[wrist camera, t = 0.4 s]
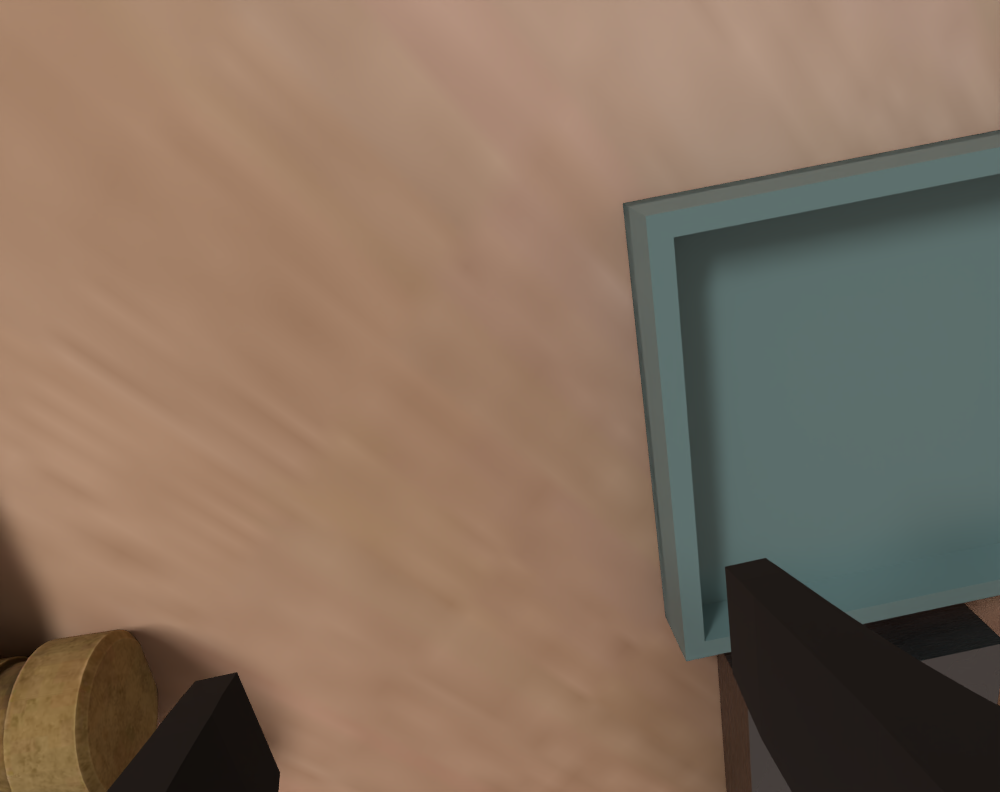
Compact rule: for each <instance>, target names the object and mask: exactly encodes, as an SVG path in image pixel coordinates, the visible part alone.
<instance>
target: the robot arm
mask: <svg viewBox="0 0 1000 792" xmlns="http://www.w3.org/2000/svg"><path fill="white" fill-rule="evenodd" d="M725 576H726V589H727V603H728V616H729V630H730V643H731V657H732V670H733V675H734V677H735V680H736V682H737V684H738V687H739V689H740V691H741V694H742V696H743V698H744V701H745V703H746V705H747V708H748V710H749V712H750V714H751V717H752V719H753V721H754V723H755V726H756V728H757V730H758V732H759V734H760V737H761V739H762V741H763V743H764V744H765V746H766V748H767V750H768V751H769V753H770V755H771V757H772V758H773V760H774V762H775V764H776V765H777V767H778V769H779V771H780V772H781V774H782V776H783V778H784V779H785V781H786V783H787V785H788V786H789V788H790V790H791V792H1000V706H999V705H997V704H995V703H993V702H991V701H989V700H988V699H986V698H984V697H982V696H980V695H978V694H977V693H975V692H973V691H971V690H969V689H968V688H966V687H964V686H963V685H961V684H959V683H957V682H956V681H954V680H952V679H950V678H949V677H947V676H945V675H943V674H942V673H940V672H938V671H937V670H935V669H933V668H931V667H930V666H928V665H926V664H924V663H923V662H921V661H920V660H918V659H916V658H915V657H913V656H911V655H910V654H908V653H906V652H905V651H903V650H902V649H900V648H899V647H897V646H896V645H894V644H892V643H891V642H889V641H888V640H886V639H885V638H883V637H881V636H880V635H878V634H877V633H875V632H874V631H872V630H871V629H869V628H867V627H866V626H864V625H863V624H861V623H860V622H858V621H857V620H855V619H854V618H852V617H851V616H849V615H848V614H846V613H845V612H843V611H842V610H841V609H839V608H838V607H836V606H835V605H833V604H832V603H830V602H829V601H827V600H826V599H824V598H823V597H822V596H820V595H819V594H817V593H816V592H814V591H813V590H811V589H810V588H809V587H807V586H806V585H804V584H803V583H801V582H800V581H799V580H797V579H796V578H794V577H793V576H791V575H790V574H788V573H787V572H786V571H784V570H783V569H781V568H780V567H778V566H777V565H775V564H774V563H772V562H771V561H770V560H768V559H767V558H763V559H758V560H753V561H749V562H744V563H740V564H735V565H730V566H726V567H725ZM279 778H280V772H279V769H278V767H277V765H276V762H275V760H274V758H273V755H272V753H271V751H270V748H269V746H268V744H267V741H266V739H265V737H264V734H263V732H262V730H261V727H260V725H259V723H258V720H257V718H256V716H255V713H254V711H253V709H252V706H251V704H250V702H249V699H248V697H247V695H246V692H245V690H244V688H243V685H242V683H241V681H240V678H239V676H238V673H237V672H236V673H232V674H227V675H222V676H218V677H213V678H209V679H204V680H199V681H195V682H194V684H193V685H192V686H191V687H190V688H189V689H188V691H187V692H186V693H185V694H184V695H183V697H182V698H181V699H180V700H179V701H178V703H177V704H176V705H175V706H174V708H173V709H172V710H171V711H170V713H169V714H168V715H167V716H166V718H165V719H164V720H163V721H162V723H161V724H160V725H159V727H158V728H157V729H156V730H155V732H154V733H153V734H152V735H151V737H150V738H149V739H148V740H147V742H146V743H145V744H144V746H143V747H142V748H141V749H140V751H139V752H138V753H137V754H136V756H135V757H134V758H133V759H132V761H131V762H130V763H129V764H128V766H127V767H126V768H125V769H124V771H123V772H122V773H121V774H120V776H119V777H118V778H117V779H116V780H115V782H114V783H113V784H112V785H111V787H110V788H109V789H108V790H107V792H278V790H279Z"/></svg>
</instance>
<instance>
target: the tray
mask: <svg viewBox="0 0 1000 792" xmlns="http://www.w3.org/2000/svg"><path fill="white" fill-rule="evenodd" d="M623 209H624V219H625V229H626V238H627V248H628V258H629V268H630V277H631V287H632V297H633V306H634V316H635V326H636V335H637V345H638V355H639V365H640V374H641V384H642V394H643V403H644V413H645V423H646V432H647V442H648V452H649V462H650V471H651V481H652V491H653V500H654V510H655V520H656V529H657V539H658V549H659V558H660V568H661V578H662V588H663V597H664V607H665V617H666V619H667V621H668V623H669V625H670V627H671V629H672V632H673V634H674V636H675V638H676V640H677V642H678V645H679V647H680V649H681V651H682V653H683V655H684V657H685V660H686V661H690V660H694V659H699V658H704V657H709V656H713V655H718V654H723V653H728V652H731V643H730V630H729V616H728V603H727V589H726V576H725V567H726V566H730V565H735V564H740V563H744V562H749V561H753V560H758V559H763V558H767V559H768V560H770V561H771V562H772V563H774V564H775V565H777V566H778V567H780V568H781V569H783V570H784V571H786V572H787V573H788V574H790V575H791V576H793V577H794V578H796V579H797V580H799V581H800V582H801V583H803V584H804V585H806V586H807V587H809V588H810V589H811V590H813V591H814V592H816V593H817V594H819V595H820V596H822V597H823V598H824V599H826V600H827V601H829V602H830V603H832V604H833V605H835V606H836V607H838V608H839V609H841V610H842V611H843V612H845V613H846V614H848V615H849V616H851V617H852V618H854V619H855V620H857V621H858V622H860V623H861V624H865V623H870V622H875V621H879V620H884V619H889V618H894V617H898V616H903V615H908V614H913V613H917V612H922V611H927V610H932V609H936V608H941V607H946V606H951V605H955V604H960V603H965V602H969V601H974V600H979V599H984V598H988V597H993V596H998V595H1000V130H997V131H992V132H987V133H982V134H976V135H971V136H966V137H961V138H956V139H951V140H946V141H940V142H935V143H930V144H925V145H920V146H915V147H910V148H905V149H899V150H894V151H889V152H884V153H879V154H874V155H869V156H863V157H858V158H853V159H848V160H843V161H838V162H833V163H827V164H822V165H817V166H812V167H807V168H802V169H797V170H792V171H786V172H781V173H776V174H771V175H766V176H761V177H756V178H750V179H745V180H740V181H735V182H730V183H725V184H720V185H714V186H709V187H704V188H699V189H694V190H689V191H684V192H679V193H673V194H668V195H663V196H658V197H653V198H648V199H643V200H637V201H632V202H627V203H623Z"/></svg>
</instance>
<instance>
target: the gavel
mask: <svg viewBox="0 0 1000 792" xmlns="http://www.w3.org/2000/svg"><path fill="white" fill-rule="evenodd" d="M157 717H158V699H157V687H156V684H155V681H154V679H153V676H152V674H151V671H150V669H149V666H148V663H147V661H146V658H145V656H144V653H143V651H142V648H141V645H140V643H139V642H138V641H137V640H136V639H135V638H134V637H133V636H132V635H131V634H130V633H129V632H128V631H126V630H113V631H106V632H100V633H93V634H86V635H80V636H73V637H67V638H60V639H55V640H51V641H48V642H46V643H44V644H43V645H41V646H40V647H38V648H37V649H36V650H35V651H34V652H33V654H32V655H31V656H30V657H29V658H28V657H26V656H16V657H10V658H3V659H0V792H107V790H108V789H109V788H110V787H111V785H112V784H113V783H114V782H115V780H116V779H117V778H118V777H119V776H120V774H121V773H122V772H123V771H124V769H125V768H126V767H127V766H128V764H129V763H130V762H131V761H132V759H133V758H134V757H135V756H136V754H137V753H138V752H139V751H140V749H141V748H142V747H143V746H144V744H145V743H146V742H147V740H148V739H149V738H150V737H151V735H152V734H153V733H154V732H155V730H156V727H157Z"/></svg>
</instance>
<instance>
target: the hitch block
mask: <svg viewBox="0 0 1000 792" xmlns="http://www.w3.org/2000/svg"><path fill="white" fill-rule="evenodd" d="M863 625H864V626H866V627H867V628H869V629H871V630H872V631H874V632H875V633H877V634H878V635H880V636H881V637H883V638H885V639H886V640H888V641H889V642H891V643H892V644H894V645H896V646H897V647H899V648H900V649H902V650H903V651H905V652H906V653H908V654H910V655H911V656H913V657H915V658H916V659H918V660H920V661H921V662H923V663H924V664H926V665H928V666H930V667H931V668H933V669H935V670H937V671H938V672H940V673H942V674H943V675H945V676H947V677H949V678H950V679H952V680H954V681H956V682H957V683H959V684H961V685H963V686H964V687H966V688H968V689H969V690H971V691H973V692H975V693H977V694H978V695H980V696H982V697H984V698H986V699H988V700H989V701H991V702H993V703H995V704H997V703H998V696H999V688H1000V637H999V636H998V635H997V634H996V633H995V632H994V631H993V630H992V629H991V628H989V627H988V626H987V625H986V624H985V623H984V622H983V621H982V620H981V619H980V618H979V617H978V616H977V615H976V614H975V613H974V612H973V611H972V610H970V609H969V608H968V607H967V606H966V605H965V604H964V603H960V604H955V605H951V606H946V607H941V608H936V609H932V610H927V611H922V612H917V613H913V614H908V615H903V616H898V617H894V618H889V619H884V620H879V621H875V622H870V623H865V624H863ZM717 659H718V673H719V688H720V702H721V717H722V731H723V746H724V760H725V775H726V789H727V792H791V790H790V788H789V786H788V785H787V783H786V781H785V779H784V778H783V776H782V774H781V772H780V771H779V769H778V767H777V765H776V764H775V762H774V760H773V758H772V757H771V755H770V753H769V751H768V750H767V748H766V746H765V744H764V743H763V741H762V739H761V737H760V734H759V732H758V730H757V728H756V726H755V723H754V721H753V719H752V717H751V714H750V712H749V710H748V708H747V705H746V703H745V701H744V698H743V696H742V694H741V691H740V689H739V687H738V684H737V682H736V680H735V677H734V675H733V670H732V657H731V652H728V653H723V654H718V655H717Z"/></svg>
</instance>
